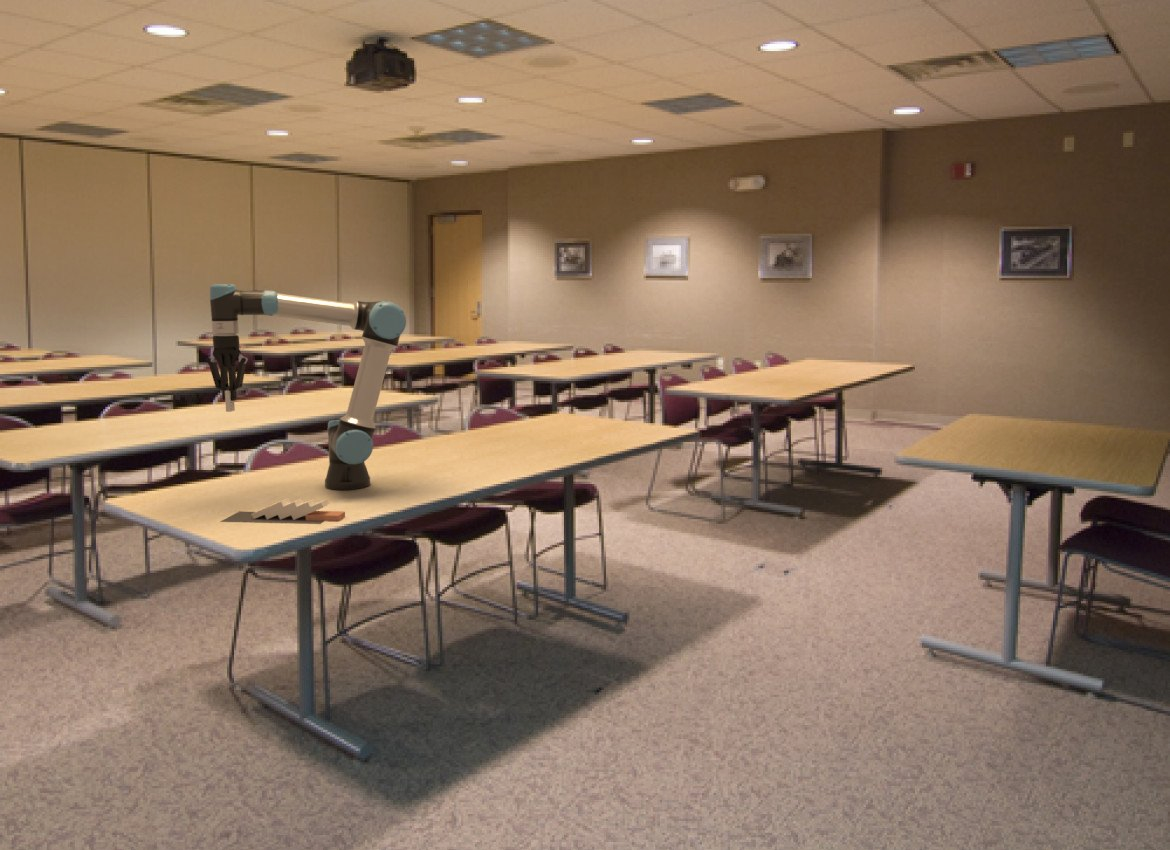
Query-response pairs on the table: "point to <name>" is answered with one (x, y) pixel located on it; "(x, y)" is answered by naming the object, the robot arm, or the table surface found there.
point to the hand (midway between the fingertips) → (230, 411)
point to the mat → (248, 517)
